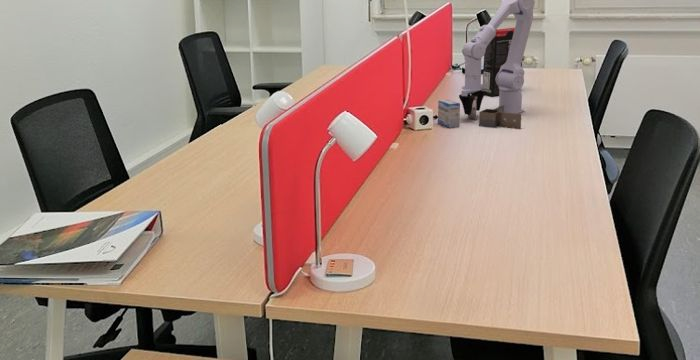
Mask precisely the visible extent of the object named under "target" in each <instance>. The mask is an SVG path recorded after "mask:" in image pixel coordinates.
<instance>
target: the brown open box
mask: <svg viewBox="0 0 700 360" xmlns="http://www.w3.org/2000/svg"><path fill="white" fill-rule="evenodd" d="M478 112H479V114H478V116H479V117H478V119H483V120H492V121H496V120H498V127H501V128H512V129H518V130H520V129H521V128H522V126H521V125H522V113H519V114H515V113H505V112H503V110H494V108H493V109H491V108H485V109H483V110H482V111H478Z"/></svg>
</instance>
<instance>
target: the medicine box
mask: <svg viewBox="0 0 700 360" xmlns="http://www.w3.org/2000/svg"><path fill="white" fill-rule="evenodd" d="M437 105H438V106H437V124H438V125H440V126H443V127H446V128H448V129H451V128H452V129H453V128H459V127H460V123H461V121H460V120H461V119H460V118H461V115H460V113H461V104H460V102H458V101H454V100H451V99H439V100H438V102H437Z"/></svg>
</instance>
